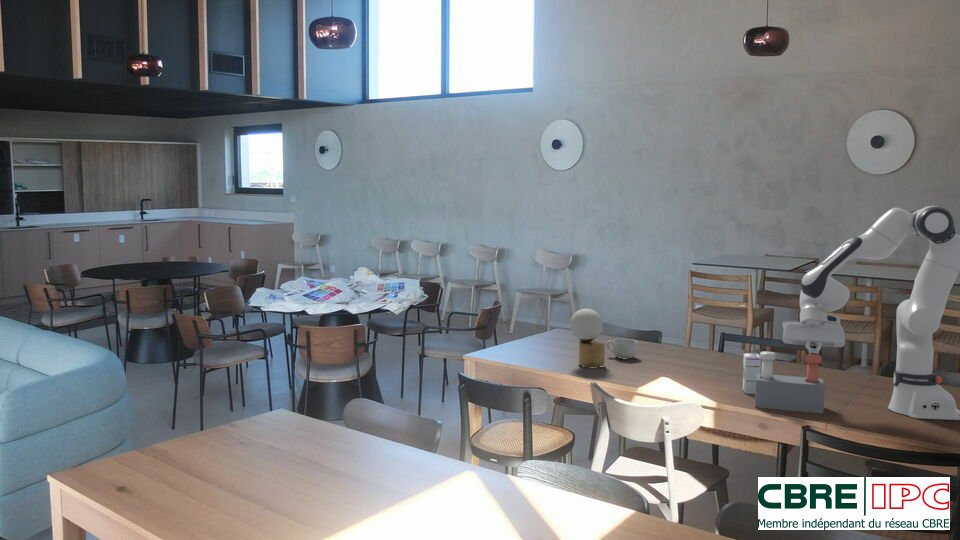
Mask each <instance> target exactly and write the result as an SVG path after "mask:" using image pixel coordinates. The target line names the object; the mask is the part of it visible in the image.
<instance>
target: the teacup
mask: <svg viewBox="0 0 960 540" xmlns="http://www.w3.org/2000/svg"><path fill="white" fill-rule="evenodd" d="M610 343H611V345H612V347H613V348H611V346H610V345H609V344H610ZM605 347H606V348H607V349H608V350H609V351H611V353H613V354H614V355H615V356H616V358H618V357H621V358H631V359H632V357H633V358H634V357H635V356H636V354H637V350H638V340H635V339H632V338H623V337H621V338H616V339H613V340H611V339H610V340H607V341H606V343H605Z"/></svg>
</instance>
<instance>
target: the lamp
mask: <svg viewBox="0 0 960 540" xmlns="http://www.w3.org/2000/svg"><path fill="white" fill-rule="evenodd" d="M603 324H604V323H603V319H602V316H601V315H600V314H599V313H598V312H597V311H595V310H594V309H591V308H581V309H579V310H577V311H575V312H574V313H573V314H572V316H571V318H570V322H569V328H570V331H571V333H572V335H573V336H574V337H575V338H576V339H578V340H579V341H578V361H577V362H578V364H579V365H581V366H584V367H600V366H603V365H604V366H605V351H606V350H605V348H606V343H605V341H604V340H600V339H596V338H598V337H599V336H600V334H601V333H602V332H603ZM579 365H578V366H579ZM581 366H580V367H581ZM584 367H583V368H584Z"/></svg>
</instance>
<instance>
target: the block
mask: <svg viewBox="0 0 960 540" xmlns="http://www.w3.org/2000/svg"><path fill="white" fill-rule="evenodd" d="M761 377H762V373H760V374H756V387H755V394H754V408H755V407H758V408H757V409H765V408H768V410H776V409H779V410H778V411H787V410H788V411H787V412H798V411H801V412H800V413H808V412H809V413H811V414H821V415H824V408H825V407H824V404H825V388H826V387H825V386H826V385H825V383H824V380H823V378H819V377H818V383H809V382H807V376H804V377H803V376H793V375H792V376H791V375H780V374H779V375H778V374H772V379H761Z"/></svg>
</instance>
